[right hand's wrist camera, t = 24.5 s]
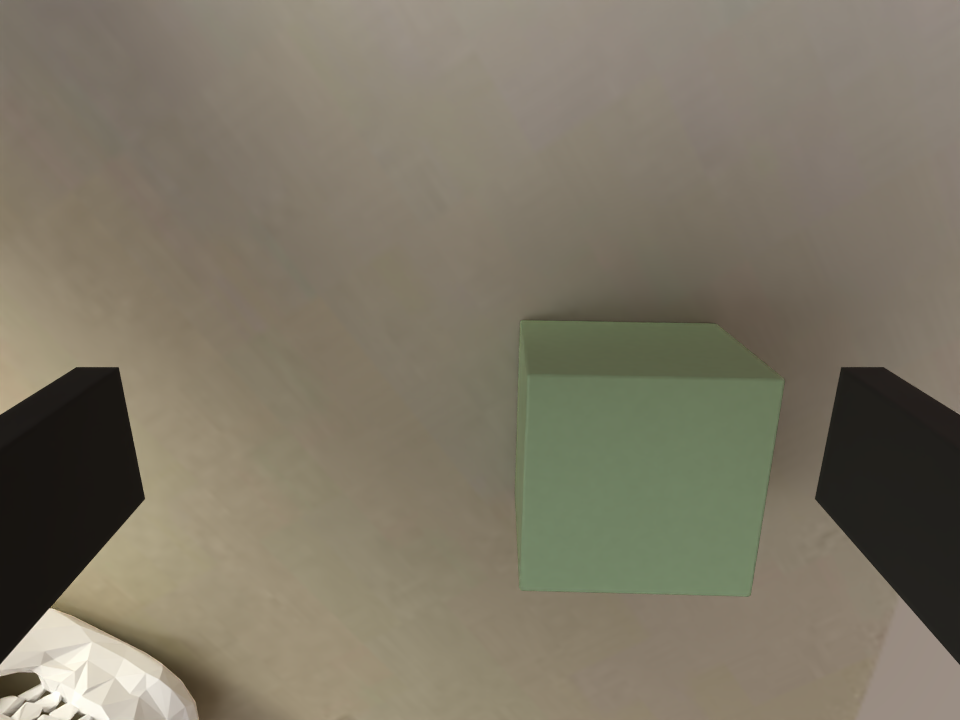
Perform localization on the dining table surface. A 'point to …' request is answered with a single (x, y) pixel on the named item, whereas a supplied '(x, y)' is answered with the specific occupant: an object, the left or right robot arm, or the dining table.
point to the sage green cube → (641, 457)
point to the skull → (91, 676)
